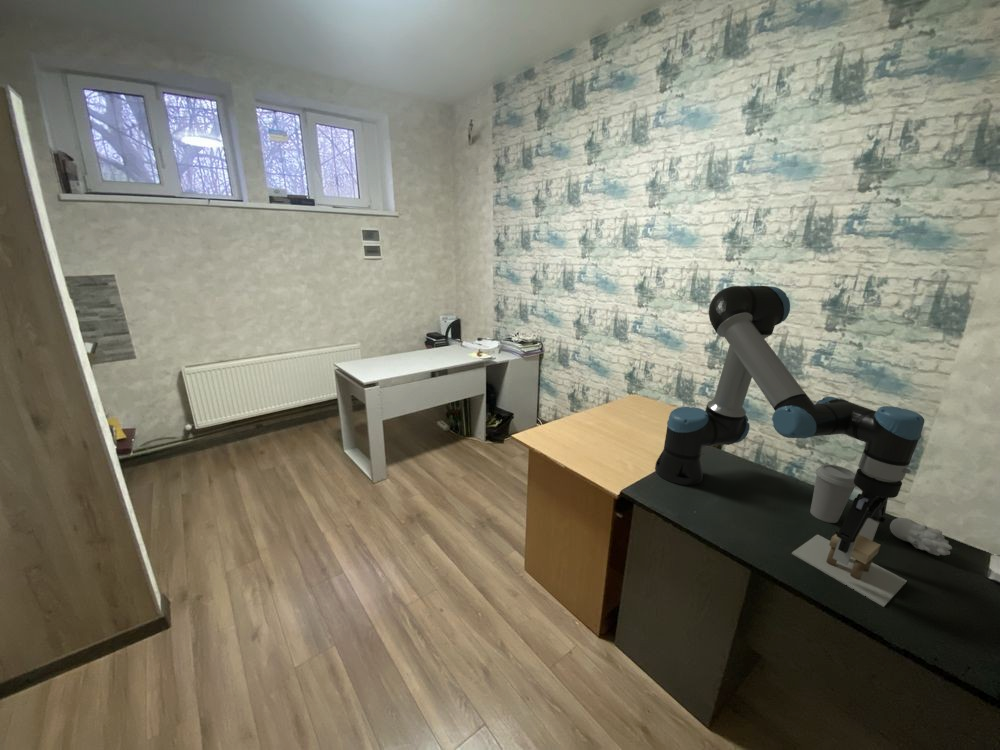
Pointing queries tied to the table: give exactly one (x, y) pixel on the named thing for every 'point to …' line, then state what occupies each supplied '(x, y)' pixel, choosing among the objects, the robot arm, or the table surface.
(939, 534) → the figurine
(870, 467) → the robot arm
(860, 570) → the wooden stool
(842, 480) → the coffee cup
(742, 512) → the table surface
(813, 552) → the mat
